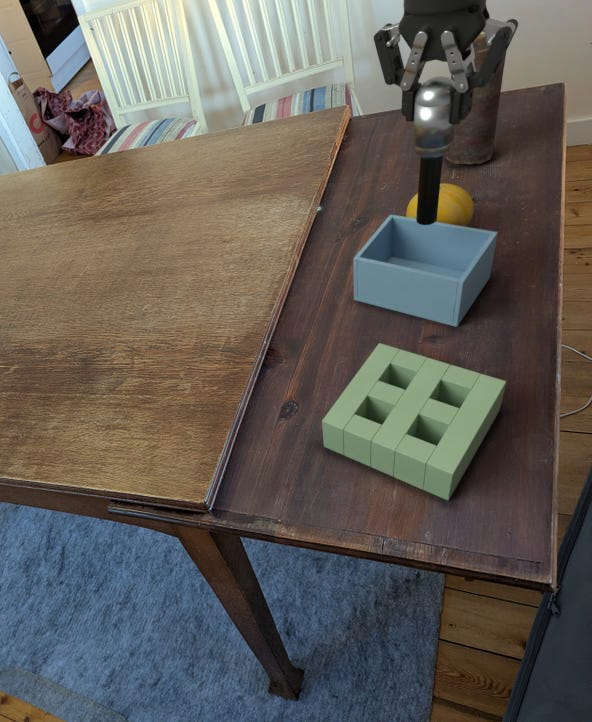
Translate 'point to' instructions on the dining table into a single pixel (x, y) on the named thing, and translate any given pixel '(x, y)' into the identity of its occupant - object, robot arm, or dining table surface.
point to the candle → (478, 116)
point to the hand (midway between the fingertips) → (434, 119)
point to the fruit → (448, 206)
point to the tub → (424, 268)
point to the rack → (414, 418)
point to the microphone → (432, 141)
